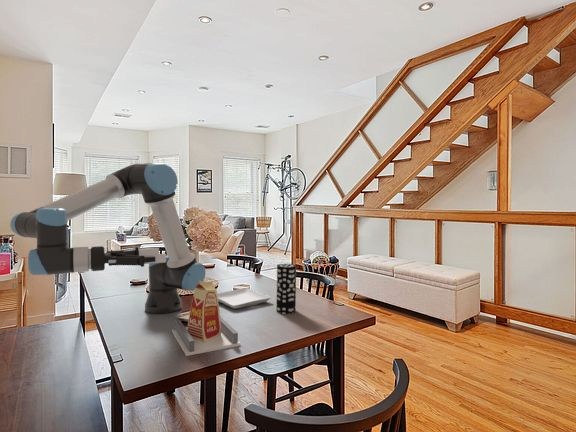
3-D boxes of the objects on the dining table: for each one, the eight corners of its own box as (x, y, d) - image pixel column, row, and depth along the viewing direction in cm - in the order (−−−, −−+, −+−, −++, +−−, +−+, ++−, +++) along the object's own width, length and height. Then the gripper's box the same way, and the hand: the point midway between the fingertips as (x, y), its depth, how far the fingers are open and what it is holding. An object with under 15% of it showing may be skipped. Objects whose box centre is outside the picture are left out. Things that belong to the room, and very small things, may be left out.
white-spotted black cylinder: (293, 314, 156) (294, 267, 155) (274, 313, 158) (275, 266, 156) (297, 308, 164) (297, 264, 163) (278, 307, 166) (279, 263, 165)
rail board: (172, 332, 134) (172, 320, 134) (220, 324, 143) (220, 313, 142) (186, 356, 115) (186, 341, 115) (240, 345, 123) (240, 332, 123)
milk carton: (204, 342, 123) (204, 283, 122) (185, 336, 128) (185, 279, 126) (223, 334, 130) (223, 278, 129) (204, 328, 135) (204, 275, 134)
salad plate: (233, 312, 158) (233, 304, 158) (209, 301, 174) (209, 294, 174) (272, 303, 172) (272, 296, 172) (246, 294, 188) (246, 287, 188)
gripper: (90, 264, 124) (156, 259, 134) (90, 279, 102) (169, 273, 112) (89, 242, 124) (156, 239, 134) (89, 252, 102) (169, 248, 112)
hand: (162, 254), depth 123 cm, fingers open, 13 cm apart
